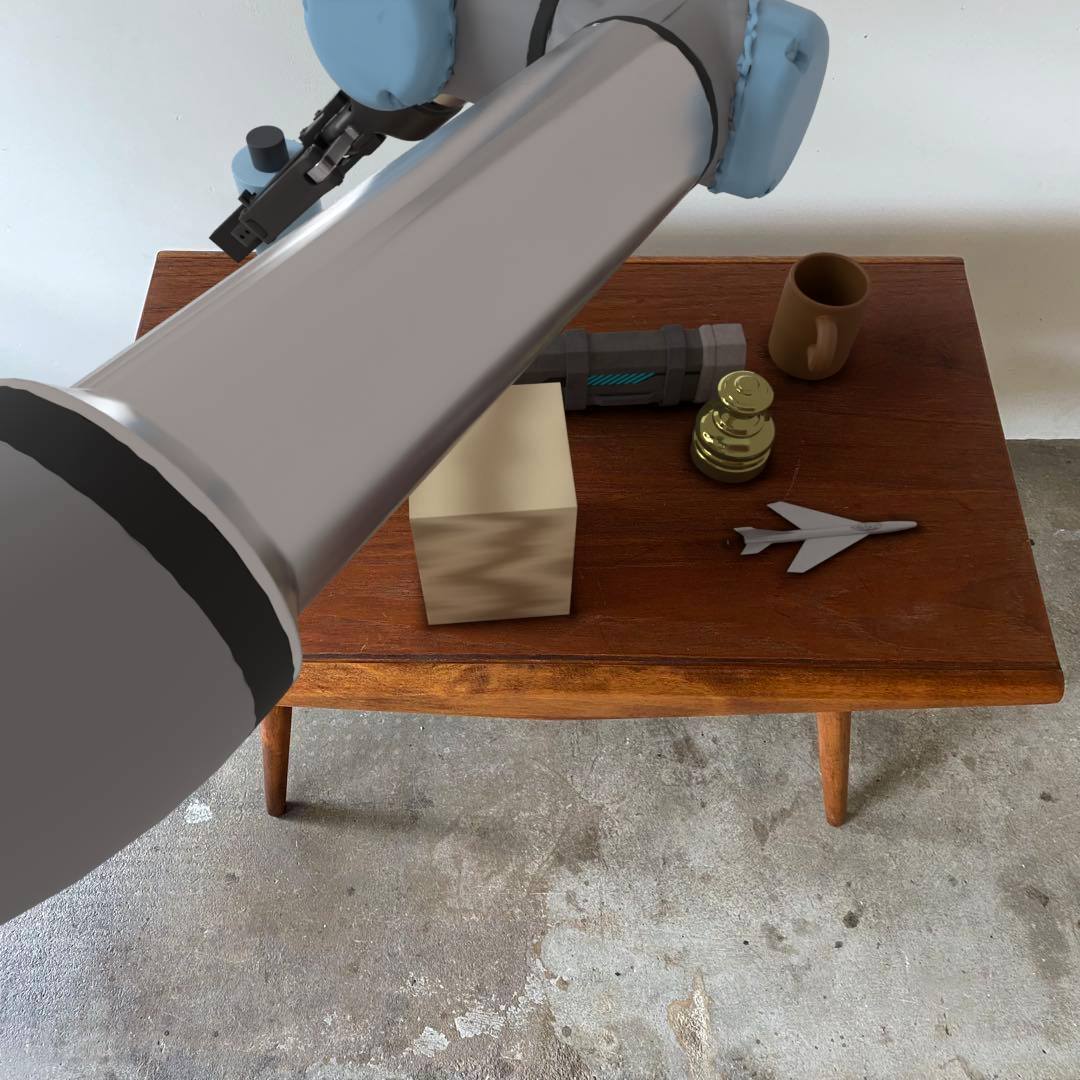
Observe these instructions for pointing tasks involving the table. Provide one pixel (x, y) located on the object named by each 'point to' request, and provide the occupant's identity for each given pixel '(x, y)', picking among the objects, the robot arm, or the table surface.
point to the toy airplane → (815, 534)
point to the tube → (639, 365)
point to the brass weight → (735, 429)
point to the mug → (819, 315)
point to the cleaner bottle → (267, 168)
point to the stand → (500, 515)
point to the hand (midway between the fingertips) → (245, 221)
